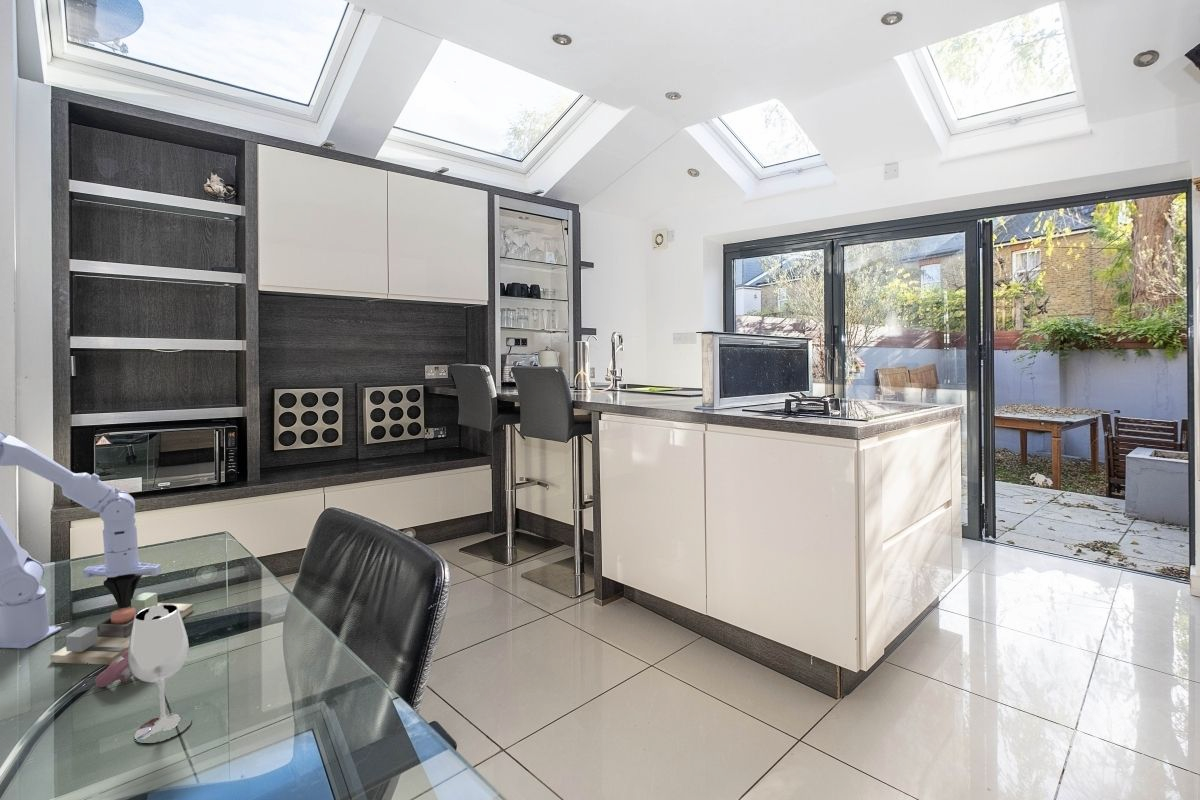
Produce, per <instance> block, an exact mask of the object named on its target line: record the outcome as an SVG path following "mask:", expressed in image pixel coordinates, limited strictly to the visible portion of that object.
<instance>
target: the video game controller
mask: <svg viewBox="0 0 1200 800" xmlns="http://www.w3.org/2000/svg"><path fill="white" fill-rule="evenodd" d="M131 677H134V675H133V674H132V673H131V671H130V669H129V665H128V651H127V652H126V653H124V654H123V655H122V656H120V657H118V658H117V659H116V660H115V661H113V662H112V663H111V664H108V666H107V667H106V669H104V670H103V671H102V672H100V673H99V674H98V675H97V676H96V677H95V680H94V682H95V685H96V687H98V688H106V687H108V686H110V685H111V684H113V683H115V682H116V681H121V682H123V683H124V682H127V681H128V680H130V679H131Z"/></svg>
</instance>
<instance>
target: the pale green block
mask: <svg viewBox="0 0 1200 800" xmlns="http://www.w3.org/2000/svg"><path fill="white" fill-rule="evenodd" d="M158 603H159V601H158V593H157V592H142V593H140V594H138V595H137V596H135V597H133V599H131V605H130V607H133V608H135V612H140V611H142V610H144V609H147V608H150V607H153V606H158Z"/></svg>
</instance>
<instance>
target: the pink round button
mask: <svg viewBox="0 0 1200 800" xmlns="http://www.w3.org/2000/svg"><path fill="white" fill-rule="evenodd" d="M135 615H136V612H135V608H133V607H131V606H129V607H126V608H121V609H119V608H118V609H115V610H112V612H111V613H110V617H111V624H122V625H124V624H127V623H129V622H131V621H132V620H134V618H135Z"/></svg>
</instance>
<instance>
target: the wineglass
mask: <svg viewBox="0 0 1200 800" xmlns="http://www.w3.org/2000/svg"><path fill="white" fill-rule="evenodd" d="M189 643H190V642H189V638H188V634H187V630H186V627H185V624H184V621H183V618H181V615H180V612H179V610H178V607H177V606H175V605H171V604H166V605H158V606H153V607H150V608H147V609H144V610H142V611H140V612H139V613H137V614H136V615H135V618H134V622H133V627H132V632H131V637H130V643H129V649H128V665H129V669H130V671H131V673H132V674H133V677H135V678H136V679H137V680H140V681H142V682H146V683H155V684H156V686H157V689H158V697H159V712H160V713H159V714H160V715H159V716H160V717H159V718H156V717H154V718H152V719H150V720H148V721H146V722H145V723H144V724H142V725H141V726H139V728H138V729H136V731H135V732H134V737H135V738H134V740H135V739H145V738H147V737H149V736H150V735H151V734H154V733H156V732H159V731H166V730H171V729H172V728H175V727H176V726H177V725H178V722H179V721H180V719H181V718H180V717H179V715H178V714H175V713H173V712H170V713H171V714H168V713H167V712H166V698H165V697H166V696H165V684H166V680H168V679H170V678H172V677H173V676H174V675H175V674H177V673H178V672H179V671H180V670H181V669H182V668H183V666H184V665H185V663H186V661H187V659H188V657H189V654H190V652H189V651H190V644H189ZM166 714H168V715H166Z"/></svg>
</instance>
